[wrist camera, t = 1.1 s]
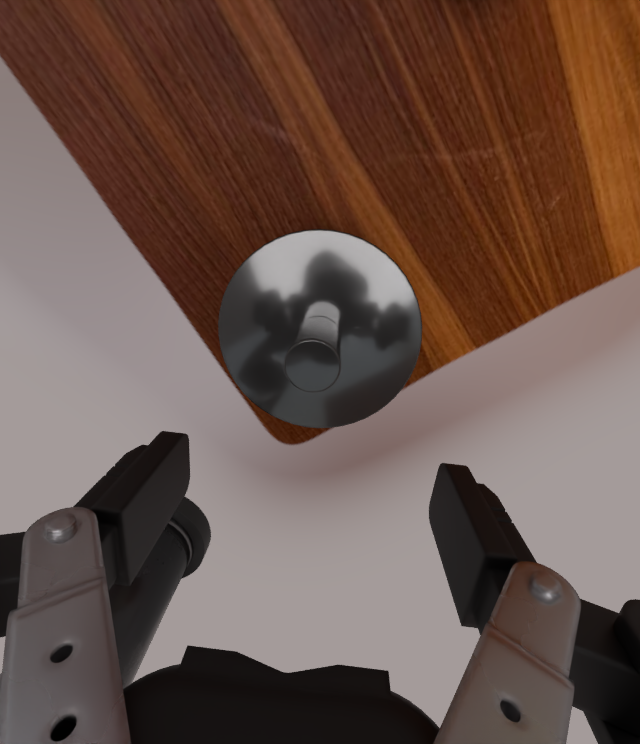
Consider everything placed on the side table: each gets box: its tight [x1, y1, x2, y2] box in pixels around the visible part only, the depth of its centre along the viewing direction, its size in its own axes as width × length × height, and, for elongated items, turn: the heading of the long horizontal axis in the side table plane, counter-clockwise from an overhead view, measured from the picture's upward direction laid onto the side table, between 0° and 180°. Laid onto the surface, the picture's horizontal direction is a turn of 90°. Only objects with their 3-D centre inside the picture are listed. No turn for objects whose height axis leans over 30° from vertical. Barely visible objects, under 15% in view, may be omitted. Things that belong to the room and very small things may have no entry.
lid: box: [218, 229, 422, 428], centre depth 18 cm, size 11×11×6 cm
